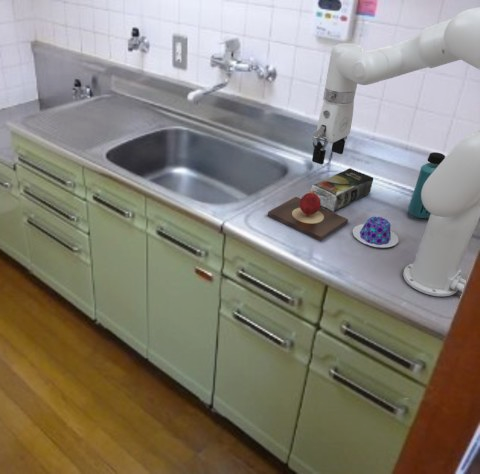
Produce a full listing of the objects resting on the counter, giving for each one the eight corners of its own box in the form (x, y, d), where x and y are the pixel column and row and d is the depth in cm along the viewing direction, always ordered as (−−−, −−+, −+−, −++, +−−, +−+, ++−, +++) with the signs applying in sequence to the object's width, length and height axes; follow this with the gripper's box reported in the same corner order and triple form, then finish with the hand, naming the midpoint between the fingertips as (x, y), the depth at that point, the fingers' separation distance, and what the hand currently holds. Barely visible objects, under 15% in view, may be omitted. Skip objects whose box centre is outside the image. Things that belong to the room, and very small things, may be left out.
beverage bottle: (415, 224, 153) (436, 160, 142) (401, 212, 158) (419, 150, 147) (434, 221, 154) (456, 158, 143) (419, 210, 160) (439, 148, 149)
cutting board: (347, 223, 152) (348, 218, 152) (320, 241, 144) (321, 236, 144) (295, 200, 163) (295, 196, 162) (267, 216, 155) (268, 211, 154)
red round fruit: (318, 221, 150) (323, 196, 146) (297, 219, 151) (302, 194, 147) (317, 211, 155) (322, 187, 150) (297, 209, 156) (301, 184, 151)
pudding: (344, 237, 146) (348, 221, 143) (364, 221, 153) (368, 205, 151) (386, 255, 139) (391, 238, 136) (404, 237, 147) (410, 221, 144)
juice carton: (332, 213, 157) (336, 195, 153) (305, 201, 163) (309, 183, 160) (371, 194, 167) (375, 177, 164) (344, 183, 174) (348, 166, 170)
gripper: (334, 106, 127) (322, 171, 136) (369, 91, 137) (356, 153, 146) (307, 99, 131) (297, 162, 141) (343, 85, 142) (332, 145, 151)
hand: (327, 157), depth 143 cm, fingers open, 9 cm apart
